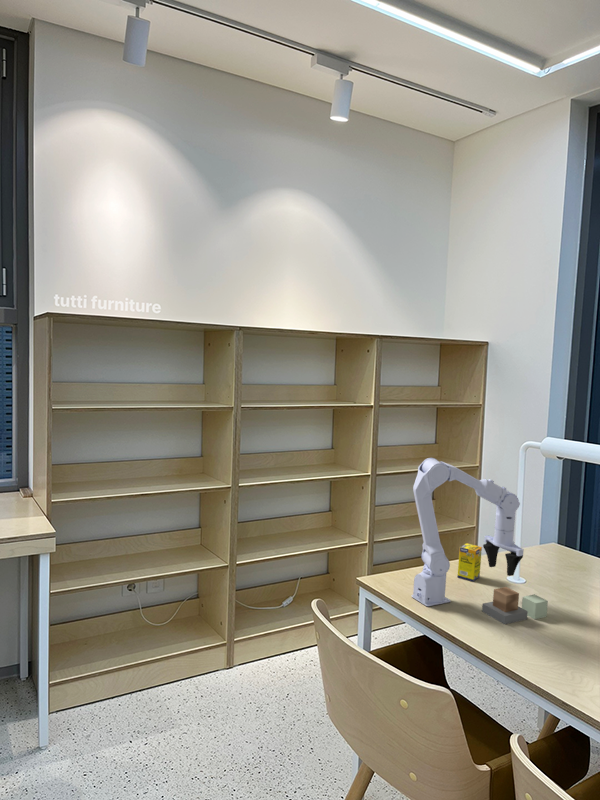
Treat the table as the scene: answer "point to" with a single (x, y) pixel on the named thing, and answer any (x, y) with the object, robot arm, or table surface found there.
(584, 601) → the table surface
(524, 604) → the sage green cube
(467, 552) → the supplement box
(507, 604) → the walnut cube
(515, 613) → the charcoal base block
